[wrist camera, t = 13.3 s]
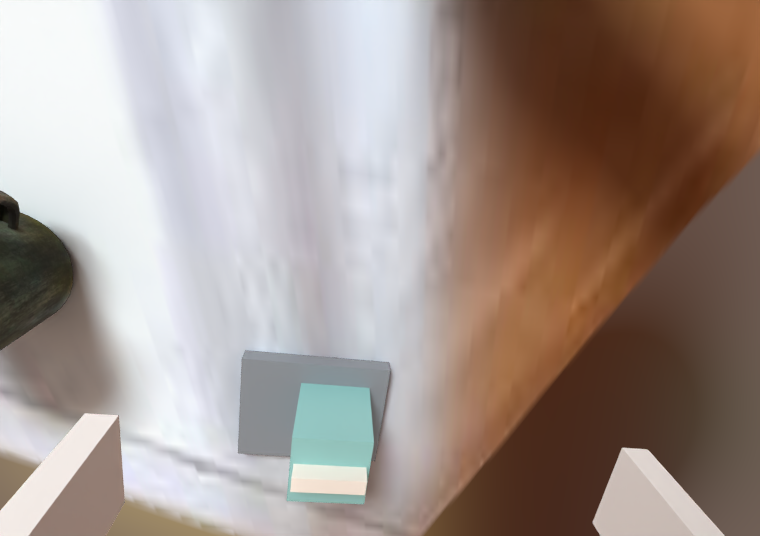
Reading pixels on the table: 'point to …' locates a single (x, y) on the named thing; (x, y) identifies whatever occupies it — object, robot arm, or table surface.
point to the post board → (297, 395)
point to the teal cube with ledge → (331, 445)
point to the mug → (29, 272)
